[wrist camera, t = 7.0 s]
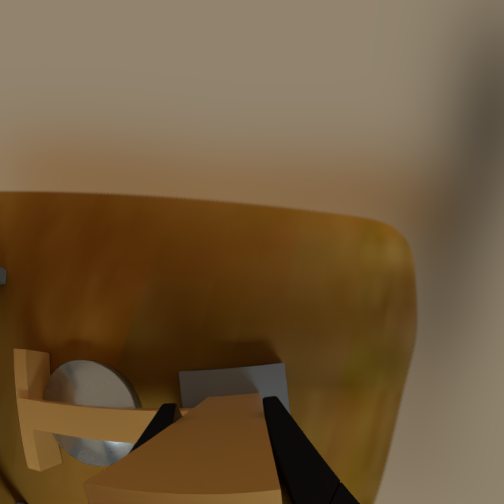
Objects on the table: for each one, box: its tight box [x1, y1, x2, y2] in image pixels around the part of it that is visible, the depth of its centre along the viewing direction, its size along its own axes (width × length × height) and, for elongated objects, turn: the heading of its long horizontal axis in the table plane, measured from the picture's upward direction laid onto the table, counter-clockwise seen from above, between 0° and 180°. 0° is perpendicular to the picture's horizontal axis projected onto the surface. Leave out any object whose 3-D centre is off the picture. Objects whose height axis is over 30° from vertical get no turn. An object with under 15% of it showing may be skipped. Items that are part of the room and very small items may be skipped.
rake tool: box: [14, 349, 290, 504], centre depth 8 cm, size 14×7×13 cm, turn 96°
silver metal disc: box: [44, 360, 142, 466], centre depth 14 cm, size 6×6×1 cm
